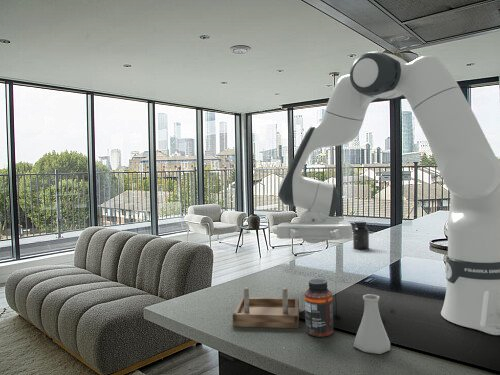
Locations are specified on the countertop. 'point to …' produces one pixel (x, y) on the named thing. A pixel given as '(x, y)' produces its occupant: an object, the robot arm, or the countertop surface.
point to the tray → (267, 311)
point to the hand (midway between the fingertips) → (314, 235)
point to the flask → (372, 328)
